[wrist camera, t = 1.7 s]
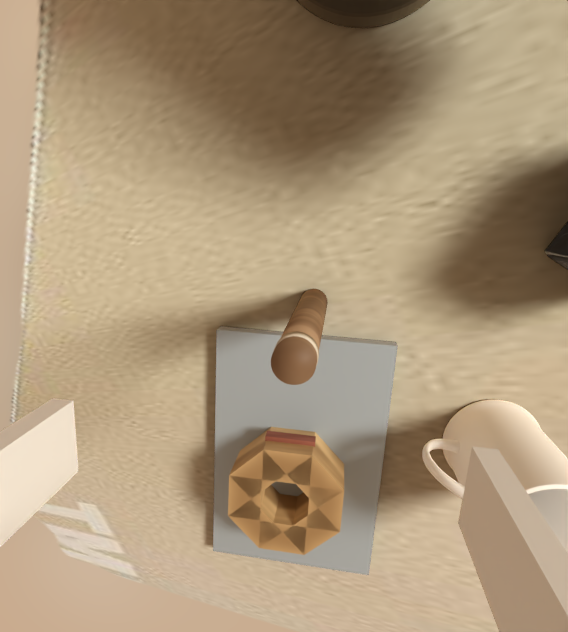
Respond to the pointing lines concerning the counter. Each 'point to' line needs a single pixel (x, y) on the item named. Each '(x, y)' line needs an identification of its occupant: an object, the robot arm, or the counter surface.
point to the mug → (507, 456)
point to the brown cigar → (301, 340)
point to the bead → (286, 510)
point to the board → (309, 415)
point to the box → (559, 247)
